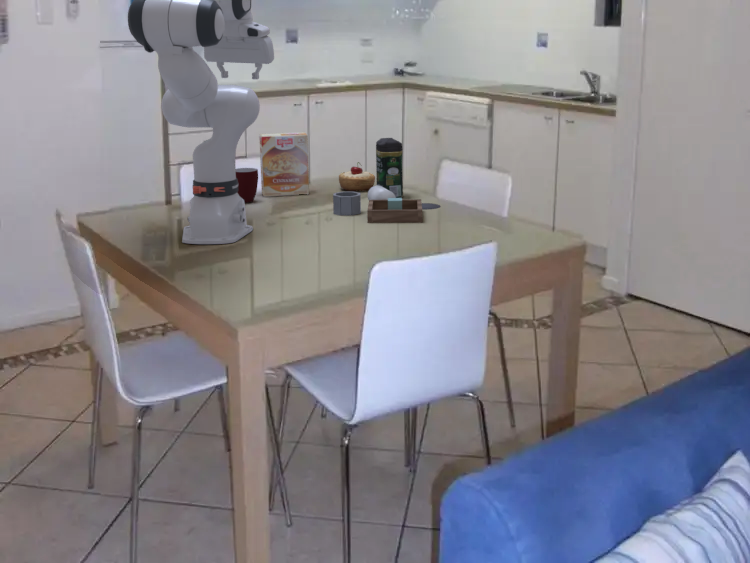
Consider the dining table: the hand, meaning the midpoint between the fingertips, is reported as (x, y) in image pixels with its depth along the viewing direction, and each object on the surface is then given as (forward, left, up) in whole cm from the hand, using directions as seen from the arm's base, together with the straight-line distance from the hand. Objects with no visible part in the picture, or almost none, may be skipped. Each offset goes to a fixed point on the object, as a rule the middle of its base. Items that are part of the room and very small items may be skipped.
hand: (240, 78), depth 263 cm
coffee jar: (+21, -42, -39) cm, 61 cm away
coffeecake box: (+27, -8, -39) cm, 48 cm away
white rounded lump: (+5, -40, -39) cm, 56 cm away
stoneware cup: (-5, -30, -39) cm, 50 cm away
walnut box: (-11, -44, -39) cm, 60 cm away
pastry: (+34, -31, -39) cm, 60 cm away
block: (-11, -44, -38) cm, 60 cm away
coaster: (+3, -53, -39) cm, 66 cm away
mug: (+15, +4, -39) cm, 42 cm away
